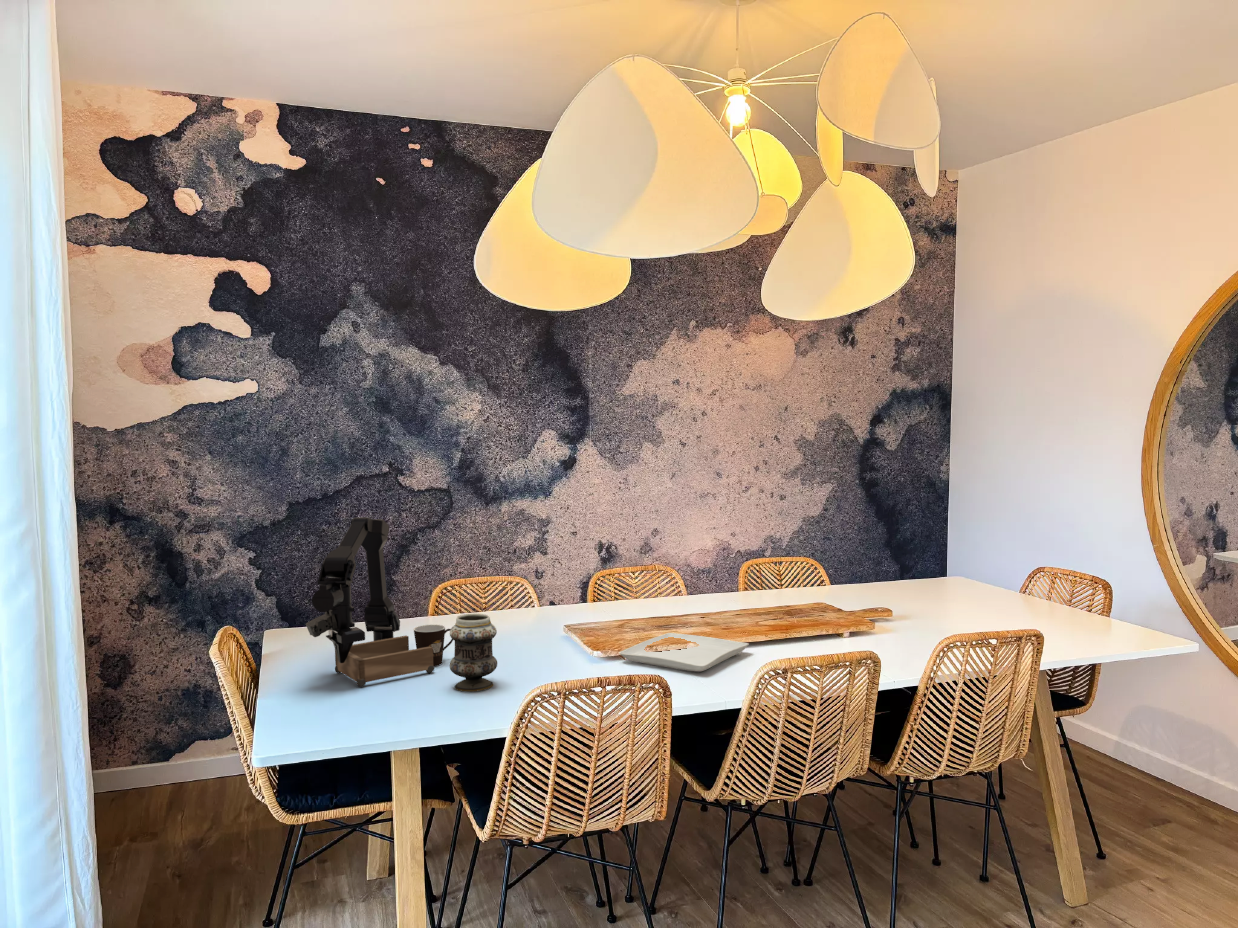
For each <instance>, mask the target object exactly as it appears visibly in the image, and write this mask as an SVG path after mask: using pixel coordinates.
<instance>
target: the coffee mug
mask: <svg viewBox="0 0 1238 928" xmlns="http://www.w3.org/2000/svg"><path fill="white" fill-rule="evenodd" d="M450 630H451V628H447V629H446V626H445V625H442V624H425V625H418V626H416V627H414V628H413V634H414V641H415V647H416V648H415V649H419V648H424V647H429V646H431V647H433V666H434V667H438V666H441V665H442V664H443V658H444V651H445V650H446V649H447V648H448V647H449V646H450V645H451V644H452V643H453V642H454V640H453V639H452V638H451V639H450V641H449V642H448V643H446V645H445V646H444V644H445V636H446V633H447V632H450Z"/></svg>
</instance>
